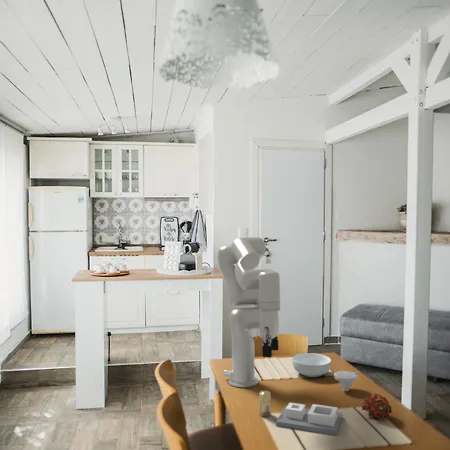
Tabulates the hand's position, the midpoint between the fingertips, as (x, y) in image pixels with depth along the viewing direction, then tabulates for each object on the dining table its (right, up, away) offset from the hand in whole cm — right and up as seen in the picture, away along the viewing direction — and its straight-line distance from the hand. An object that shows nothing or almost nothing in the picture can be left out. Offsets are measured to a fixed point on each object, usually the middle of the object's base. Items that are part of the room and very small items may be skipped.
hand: (270, 353), depth 171 cm
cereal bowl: (+22, -20, +40) cm, 50 cm away
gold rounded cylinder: (-2, -21, -2) cm, 22 cm away
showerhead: (+33, -21, +21) cm, 44 cm away
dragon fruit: (+37, -21, -4) cm, 43 cm away
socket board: (+13, -21, -8) cm, 26 cm away
